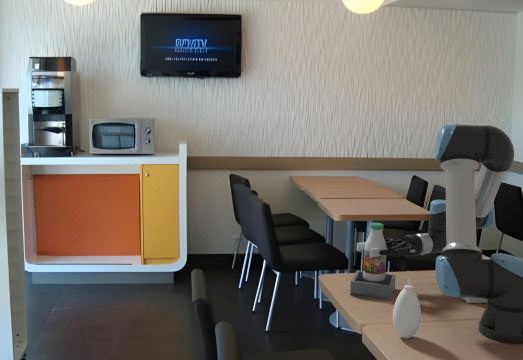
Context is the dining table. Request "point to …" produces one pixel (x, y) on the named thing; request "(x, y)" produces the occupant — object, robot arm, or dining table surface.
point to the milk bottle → (374, 265)
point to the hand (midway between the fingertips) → (363, 249)
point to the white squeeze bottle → (407, 312)
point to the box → (373, 287)
